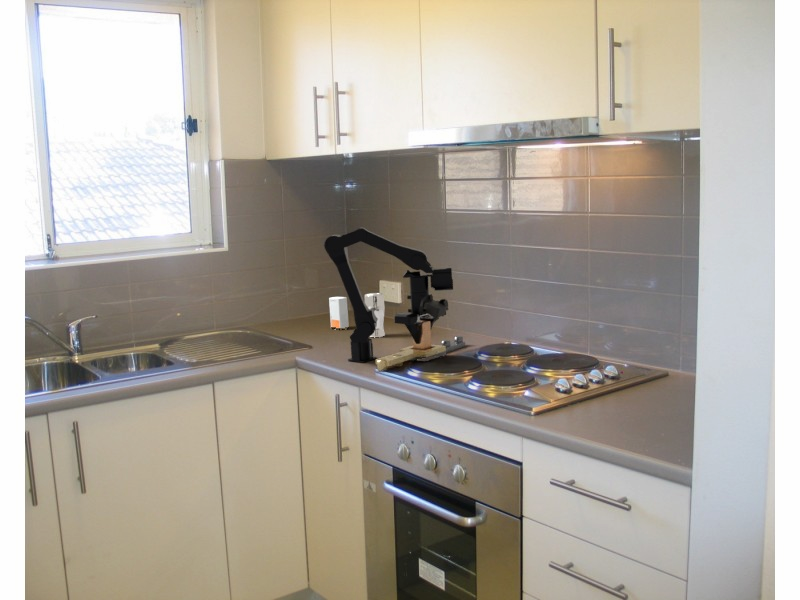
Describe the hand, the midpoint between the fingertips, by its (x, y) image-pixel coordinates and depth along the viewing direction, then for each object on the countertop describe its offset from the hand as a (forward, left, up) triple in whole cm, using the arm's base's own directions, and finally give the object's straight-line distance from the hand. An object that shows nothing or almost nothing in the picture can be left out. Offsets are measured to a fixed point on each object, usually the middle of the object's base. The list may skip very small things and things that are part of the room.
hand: (422, 342), depth 247 cm
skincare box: (+27, +60, -5) cm, 66 cm away
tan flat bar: (0, 0, -5) cm, 5 cm away
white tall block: (+21, +37, -5) cm, 43 cm away
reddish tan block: (0, 0, -2) cm, 2 cm away
